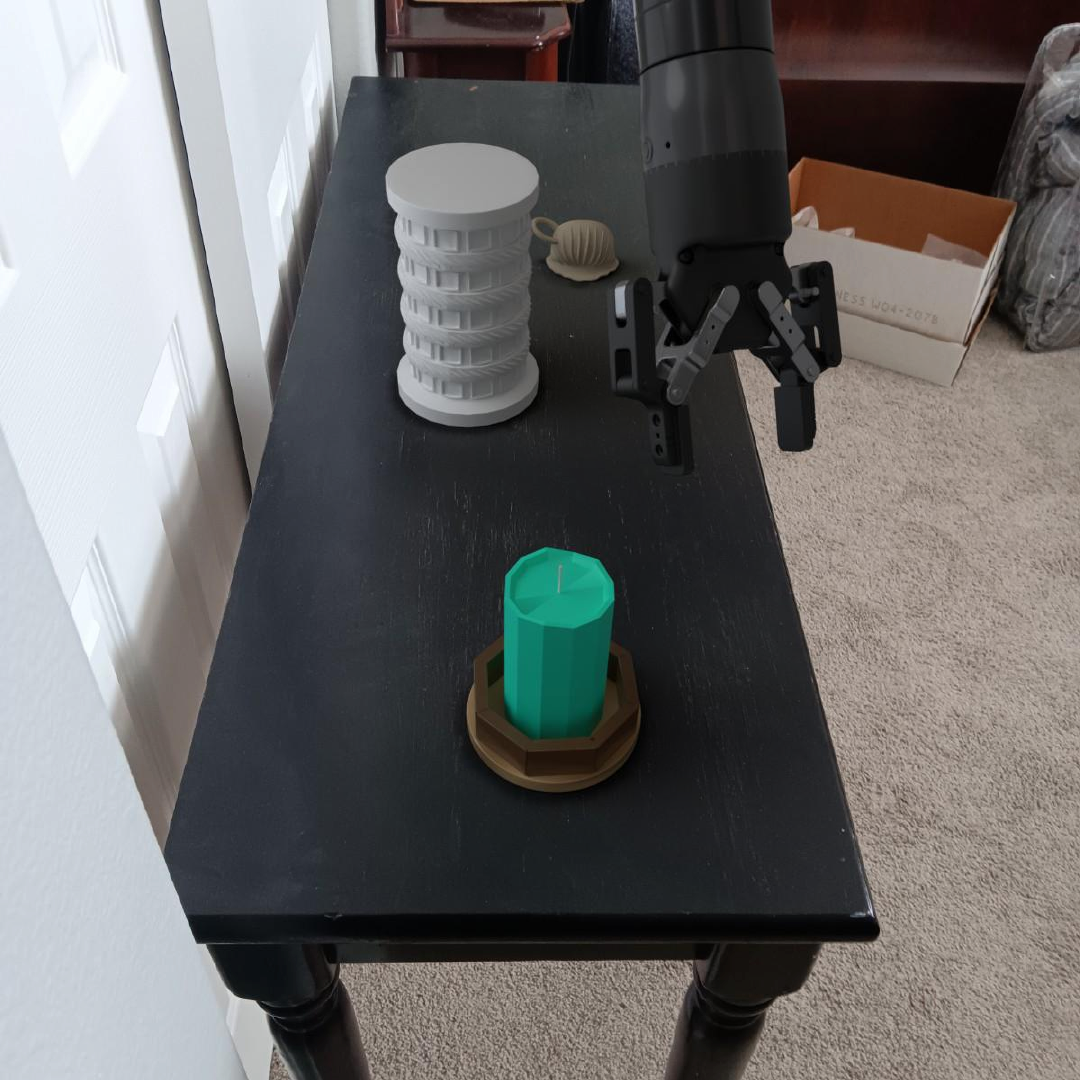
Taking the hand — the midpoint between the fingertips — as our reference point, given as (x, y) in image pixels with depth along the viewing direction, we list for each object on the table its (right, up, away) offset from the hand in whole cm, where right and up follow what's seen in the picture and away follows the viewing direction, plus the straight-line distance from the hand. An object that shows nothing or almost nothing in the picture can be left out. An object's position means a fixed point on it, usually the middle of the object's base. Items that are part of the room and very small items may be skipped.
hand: (738, 462), depth 60 cm
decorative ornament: (-8, +21, +42) cm, 48 cm away
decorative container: (-17, +8, +29) cm, 35 cm away
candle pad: (-10, -15, +5) cm, 19 cm away
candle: (-10, -14, +5) cm, 18 cm away
